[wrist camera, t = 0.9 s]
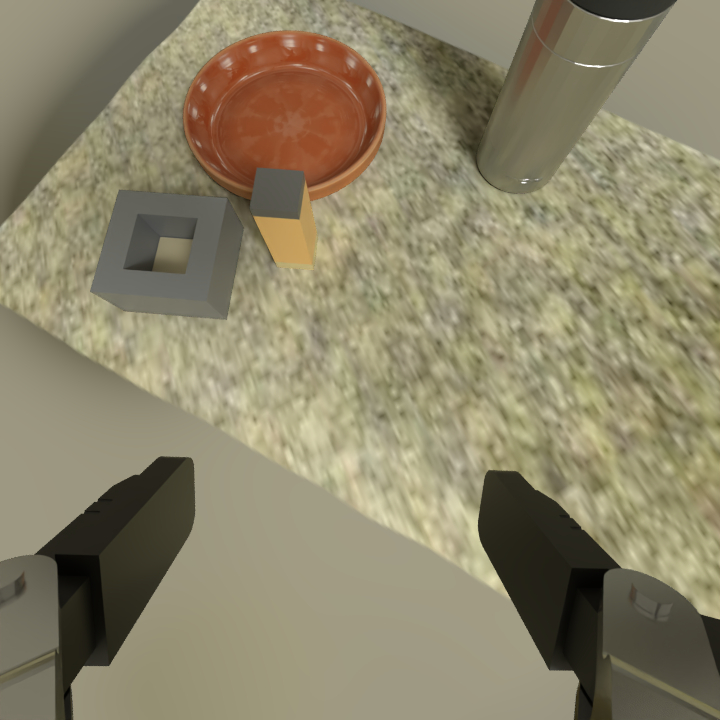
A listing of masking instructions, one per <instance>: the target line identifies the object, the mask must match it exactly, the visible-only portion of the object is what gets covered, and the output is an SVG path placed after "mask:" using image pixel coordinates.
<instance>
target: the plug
mask: <svg viewBox="0 0 720 720" xmlns="http://www.w3.org/2000/svg"><path fill="white" fill-rule="evenodd" d="M249 209H250V211H251V213H252V215H253V217H254V219H255V221H256V223H257V225H258V228H259V230H260V232H261V234H262V236H263V238H264V240H265V242H266V244H267V246H268V248H269V251H270V253H271V255H272V257H273V259H274V261H275V263H276V265H277V267H281V268H293V269H306V270H314V264H315V256H316V249H317V241H318V235H317V231H316V226H315V221H314V217H313V212H312V208H311V203H310V198H309V194H308V189H307V184H306V180H305V175H304V171H298V170H284V169H270V168H257V170H256V175H255V181H254V186H253V192H252V197H251V203H250V208H249Z"/></svg>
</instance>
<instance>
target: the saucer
mask: <svg viewBox="0 0 720 720" xmlns="http://www.w3.org/2000/svg"><path fill="white" fill-rule="evenodd" d="M385 121H386V99H385V94H384V90H383V87H382V84H381V82H380V80H379V78H378V76H377V74H376V73H375V71H374V70H373V68H372V67H371V66H370V64H369V63H368V62H367V61H366V60H365V59H364V58H363V57H362V56H361V55H360V54H358V53H357V52H356V51H355V50H353V49H352V48H350V47H349V46H347V45H345V44H343V43H341V42H339V41H337V40H335V39H332V38H330V37H327V36H324V35H320V34H316V33H311V32H304V31H273V32H267V33H262V34H258V35H254V36H251V37H248V38H245V39H243V40H240V41H238V42H236V43H234V44H232V45H230V46H228V47H226V48H225V49H223V50H222V51H220V52H219V53H217V54H216V55H215V56H214V57H212V58H211V59H210V60H209V61H208V62H207V63H206V64H205V65H204V66H203V67H202V69H201V70H200V71H199V72H198V74H197V75H196V77H195V78H194V80H193V82H192V84H191V86H190V87H189V90H188V93H187V95H186V99H185V103H184V108H183V125H184V132H185V135H186V138H187V141H188V144H189V146H190V148H191V150H192V152H193V154H194V155H195V157H196V158H197V160H198V162H199V163H200V165H201V166H202V167H203V169H204V170H205V171H206V172H207V174H208V175H209V176H210V177H211V178H212V179H213V180H214V181H216V182H217V183H218V184H219V185H221V186H222V187H224V188H225V189H227V190H229V191H230V192H232V193H234V194H236V195H238V196H241V197H243V198H246V199H249V200H251V197H252V192H253V186H254V181H255V175H256V170H257V168H270V169H284V170H298V171H304V175H305V180H306V184H307V189H308V194H309V198H310V201H313V200H316V199H320V198H323V197H325V196H328V195H330V194H332V193H334V192H337V191H339V190H340V189H342V188H344V187H345V186H347V185H348V184H350V183H351V182H352V181H354V180H355V179H356V178H357V177H358V176H359V175H360V174H361V173H362V172H363V171H364V170H365V169H366V168H367V167H368V166H369V164H370V163H371V162H372V160H373V159H374V157H375V155H376V154H377V151H378V149H379V147H380V145H381V142H382V138H383V134H384V129H385Z"/></svg>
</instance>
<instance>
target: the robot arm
mask: <svg viewBox="0 0 720 720" xmlns="http://www.w3.org/2000/svg"><path fill="white" fill-rule="evenodd" d="M676 1H677V0H536V2H535V4H534V7H533V10H532V12H531V15H530V17H529V20H528V23H527V25H526V28H525V30H524V33H523V35H522V38H521V41H520V43H519V45H518V48H517V50H516V53H515V56H514V58H513V61H512V63H511V66H510V68H509V71H508V73H507V76H506V78H505V81H504V84H503V86H502V89H501V91H500V94H499V96H498V99H497V101H496V104H495V106H494V109H493V112H492V114H491V117H490V119H489V121H488V124H487V126H486V129H485V132H484V134H483V137H482V139H481V142H480V144H479V147H478V151H477V165H478V168H479V170H480V172H481V174H482V175H483V177H484V178H485V179H486V180H487V181H488V182H489V183H490V184H492V185H493V186H495V187H496V188H498V189H500V190H503V191H506V192H510V193H516V194H517V193H529V192H533V191H535V190H538V189H540V188H541V187H543V186H544V185H546V184H547V183H548V181H549V180H550V179H551V178H552V176H553V175H554V174H555V172H556V171H557V169H558V168H559V166H560V165H561V164H562V162H563V161H564V159H565V158H566V157H567V155H568V154H569V153H570V151H571V150H572V148H573V147H574V146H575V144H576V143H577V141H578V140H579V138H580V137H581V136H582V134H583V133H584V131H585V130H586V129H587V127H588V126H589V124H590V123H591V122H592V120H593V119H594V117H595V116H596V114H597V113H598V112H599V110H600V109H601V107H602V106H603V105H604V103H605V102H606V100H607V99H608V97H609V96H610V95H611V93H612V92H613V90H614V89H615V88H616V86H617V84H618V83H619V82H620V81H621V79H622V78H623V76H624V75H625V73H626V72H627V71H628V69H629V68H630V66H631V65H632V64H633V62H634V61H635V59H636V58H637V56H638V55H639V54H640V52H641V51H642V49H643V48H644V46H645V45H646V43H647V42H648V41H649V39H650V38H651V36H652V35H653V34H654V32H655V31H656V29H657V28H658V27H659V25H660V24H661V22H662V21H663V19H664V18H665V17H666V15H667V14H668V12H669V11H670V9H671V8H672V7H673V5H674V4H675V2H676ZM194 489H195V487H194V464H193V460H192V459H191V458H189V457H163V456H161V457H159V458H157V459H156V460H155V461H154V462H153V463H152V464H151V465H150V466H149V467H147V468H146V469H145V470H144V471H143V472H142V473H141V474H140V475H133V476H131V477H129V478H127V479H125V480H124V481H121V482H120V483H118V484H116V485H114V486H112V487H111V488H110V489H109V490H108V491H107V492H106V493H104V494H103V495H102V496H101V497H100V498H99V499H98V501H97V502H94V503H93V504H92V505H91V506H89V507H88V508H87V509H86V510H85V512H84V514H81V515H79V516H78V517H77V518H76V519H75V520H74V521H72V522H71V523H70V524H69V525H68V526H67V527H65V529H63V530H62V531H61V532H60V533H59V534H57V535H56V536H55V537H54V538H53V539H52V540H50V541H49V542H48V543H47V544H46V545H45V546H44V547H42V548H41V549H40V550H39V551H38V552H37V553H36V554H34V555H26V556H19V557H14V558H11V559H7V560H4V561H1V562H0V720H73V701H72V689H71V683H72V682H73V680H74V679H75V677H76V676H77V674H78V673H79V672H80V670H81V669H82V667H83V666H109V665H110V664H111V662H112V660H113V659H114V657H115V655H116V654H117V652H118V651H119V649H120V647H121V646H122V644H123V642H124V641H125V639H126V637H127V636H128V634H129V633H130V631H131V629H132V628H133V626H134V624H135V623H136V621H137V619H138V618H139V616H140V615H141V613H142V611H143V610H144V608H145V607H146V605H147V603H148V602H149V600H150V598H151V597H152V595H153V593H154V592H155V590H156V589H157V587H158V585H159V584H160V582H161V580H162V579H163V577H164V576H165V574H166V572H167V571H168V569H169V567H170V566H171V564H172V563H173V561H174V559H175V557H176V556H177V554H178V553H179V551H180V549H181V548H182V546H183V545H184V543H185V541H186V540H187V538H188V536H189V534H190V532H191V530H192V526H193V523H194V517H195V490H194ZM478 532H479V537H480V541H481V544H482V546H483V548H484V550H485V552H486V553H487V555H488V557H489V559H490V561H491V563H492V565H493V566H494V568H495V570H496V572H497V574H498V576H499V578H500V579H501V581H502V583H503V585H504V587H505V589H506V591H507V592H508V594H509V596H510V598H511V600H512V602H513V604H514V605H515V607H516V609H517V611H518V613H519V615H520V616H521V619H522V620H523V622H524V624H525V626H526V628H527V629H528V631H529V633H530V635H531V637H532V639H533V641H534V642H535V645H536V646H537V648H538V650H539V652H540V654H541V656H542V657H543V659H544V661H545V663H546V665H547V667H548V669H549V670H572V671H574V672H575V674H576V676H577V677H578V679H579V683H578V687H577V692H576V699H575V711H574V720H720V620H719V619H716V618H712V617H708V616H704V615H700V614H699V613H698V611H697V610H696V608H695V607H694V606H693V605H692V604H691V603H690V602H689V601H688V600H687V599H686V598H685V597H684V596H682V595H681V594H680V593H679V592H677V591H676V590H674V589H673V588H672V587H670V586H668V585H667V584H665V583H663V582H662V581H660V580H658V579H656V578H654V577H651V576H649V575H647V574H644V573H641V572H638V571H634V570H630V569H622V568H621V567H620V566H619V565H618V564H617V563H616V562H615V561H614V560H613V559H612V558H611V557H610V556H609V555H608V554H607V553H606V552H605V551H604V550H603V549H602V548H601V547H600V546H599V545H598V544H597V543H596V542H595V541H594V540H593V539H592V538H591V537H590V536H589V535H588V534H587V533H586V532H585V531H584V530H581V526H580V525H579V524H578V523H577V522H576V521H575V520H574V519H573V518H570V515H569V514H568V513H567V512H566V511H565V510H564V509H563V508H562V507H561V506H560V505H559V504H558V503H557V502H556V501H554V500H552V499H551V498H549V497H548V496H546V495H544V494H543V493H541V492H539V491H538V490H535V489H534V488H533V487H532V486H531V485H530V484H529V483H528V482H527V481H526V480H525V479H524V478H523V477H522V476H521V474H520V473H518V472H517V471H497V470H489V471H488V472H487V473H486V475H485V479H484V485H483V492H482V498H481V505H480V511H479V518H478Z"/></svg>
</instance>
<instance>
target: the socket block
mask: <svg viewBox="0 0 720 720" xmlns="http://www.w3.org/2000/svg"><path fill="white" fill-rule="evenodd" d="M243 229H244V227H243V226H242V224H241V222H240V220H239V218H238V216H237V215H236V213H235V211H234V209H233V207H232V205H231V204H230V202H229V200H228V198H222V197H209V196H195V195H182V194H168V193H155V192H142V191H128V190H119V192H118V195H117V199H116V202H115V206H114V209H113V213H112V216H111V220H110V223H109V227H108V230H107V234H106V237H105V241H104V244H103V248H102V251H101V255H100V258H99V262H98V265H97V269H96V273H95V276H94V280H93V283H92V287H91V290H90V292H92V293H94V294H95V295H97V296H99V297H101V298H102V299H104V300H106V301H108V302H110V303H111V304H113V305H115V306H117V307H119V308H120V309H122V310H124V311H130V312H142V313H153V314H165V315H177V316H189V317H201V318H213V319H225V320H227V315H228V309H229V304H230V299H231V293H232V288H233V283H234V277H235V272H236V266H237V261H238V256H239V250H240V245H241V239H242V234H243Z"/></svg>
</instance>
